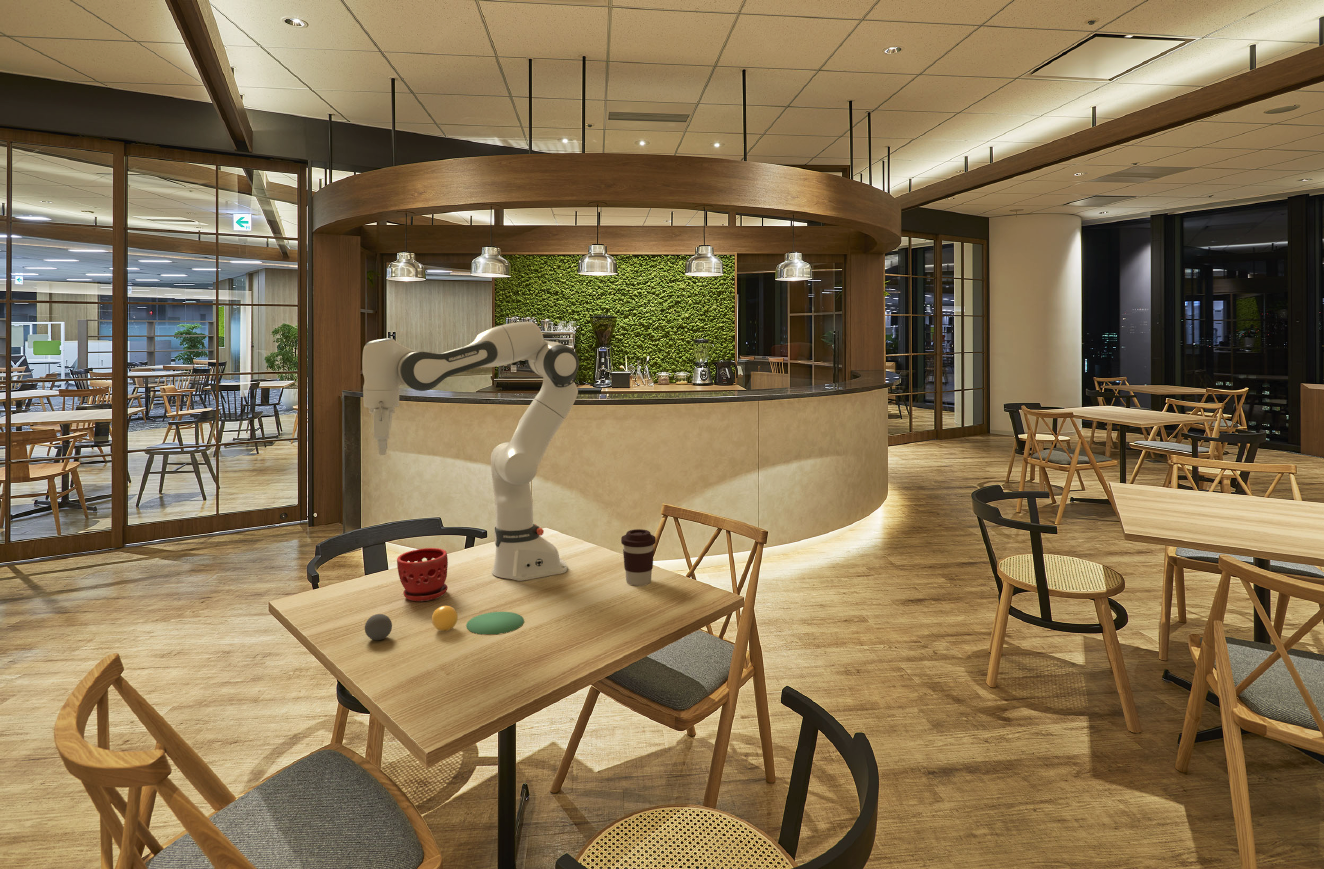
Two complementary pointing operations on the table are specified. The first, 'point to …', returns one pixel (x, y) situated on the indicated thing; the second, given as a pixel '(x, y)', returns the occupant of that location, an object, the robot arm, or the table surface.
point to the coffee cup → (638, 556)
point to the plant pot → (423, 573)
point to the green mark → (495, 623)
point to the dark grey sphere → (378, 627)
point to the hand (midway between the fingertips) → (383, 451)
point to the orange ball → (444, 618)
